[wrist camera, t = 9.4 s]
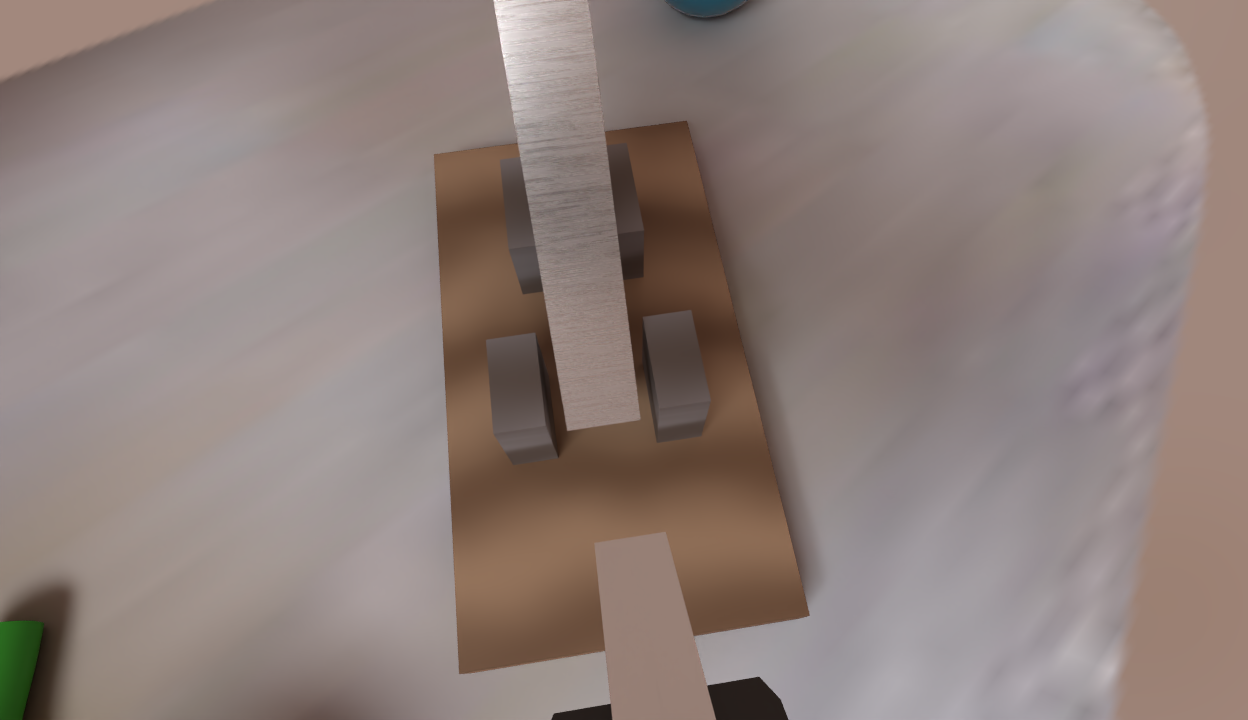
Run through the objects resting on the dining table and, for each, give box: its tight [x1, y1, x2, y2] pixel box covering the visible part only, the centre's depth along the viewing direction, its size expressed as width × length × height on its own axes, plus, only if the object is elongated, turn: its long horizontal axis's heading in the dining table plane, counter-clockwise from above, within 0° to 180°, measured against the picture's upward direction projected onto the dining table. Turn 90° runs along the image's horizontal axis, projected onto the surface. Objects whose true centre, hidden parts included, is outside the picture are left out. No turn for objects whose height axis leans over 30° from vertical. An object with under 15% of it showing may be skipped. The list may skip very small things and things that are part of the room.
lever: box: [494, 0, 641, 431], centre depth 25 cm, size 4×4×19 cm
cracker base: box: [434, 121, 810, 674], centre depth 30 cm, size 26×14×9 cm, turn 9°
